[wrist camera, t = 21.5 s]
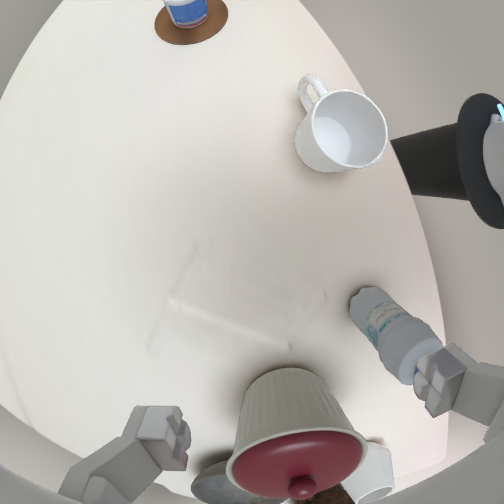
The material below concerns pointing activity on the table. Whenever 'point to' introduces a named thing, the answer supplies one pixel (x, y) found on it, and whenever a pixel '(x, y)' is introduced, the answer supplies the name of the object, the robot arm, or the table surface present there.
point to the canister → (293, 438)
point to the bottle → (392, 332)
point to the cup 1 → (339, 129)
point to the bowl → (224, 489)
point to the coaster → (195, 34)
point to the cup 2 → (371, 476)
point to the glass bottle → (329, 497)
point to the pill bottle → (187, 12)
